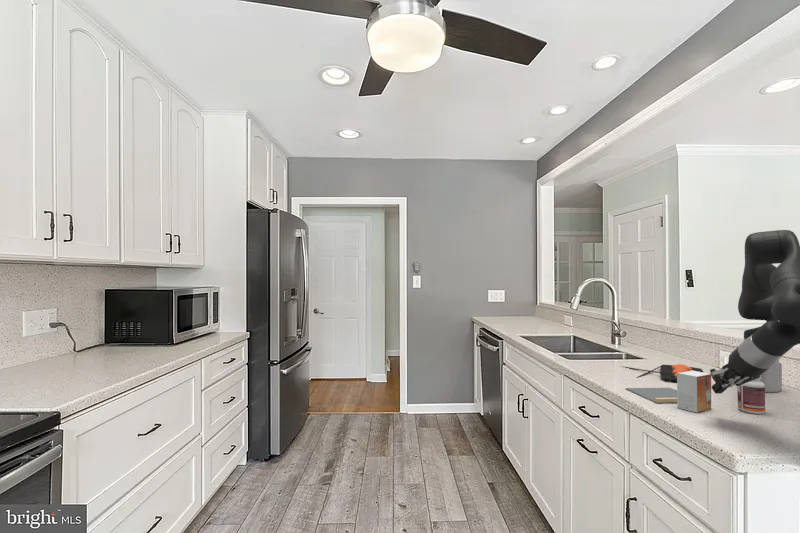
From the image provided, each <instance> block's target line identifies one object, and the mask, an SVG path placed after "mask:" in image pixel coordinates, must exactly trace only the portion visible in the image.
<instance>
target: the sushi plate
mask: <svg viewBox="0 0 800 533" xmlns="http://www.w3.org/2000/svg"><path fill="white" fill-rule="evenodd" d="M620 367H621V368H624V367H625V368H626V369H628V368H629V369H630V370H635V371H643V372H645V373H643V374H641V375H638V376H637V377H635V378H637V379H639V378H641V377H644V376H647V375H648V374H650V373H657V374H660V378H662V379H663V380H667V381H671V382H676V383H677V373H681V372H687V371H691V370H692V371H698V372H703V373H705V372H704V371H703V369H702V368H700V367H693V366H688V365H686V364H680V363H679V364H674V365H673V364H661V365H659V366H658V367H655V368H654V369H651V370H648V369H641V368H636V367H635V368H633V367H629V366H622V365H620ZM625 368H624V369H625ZM659 368H660V371H655V370H657V369H659Z"/></svg>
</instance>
